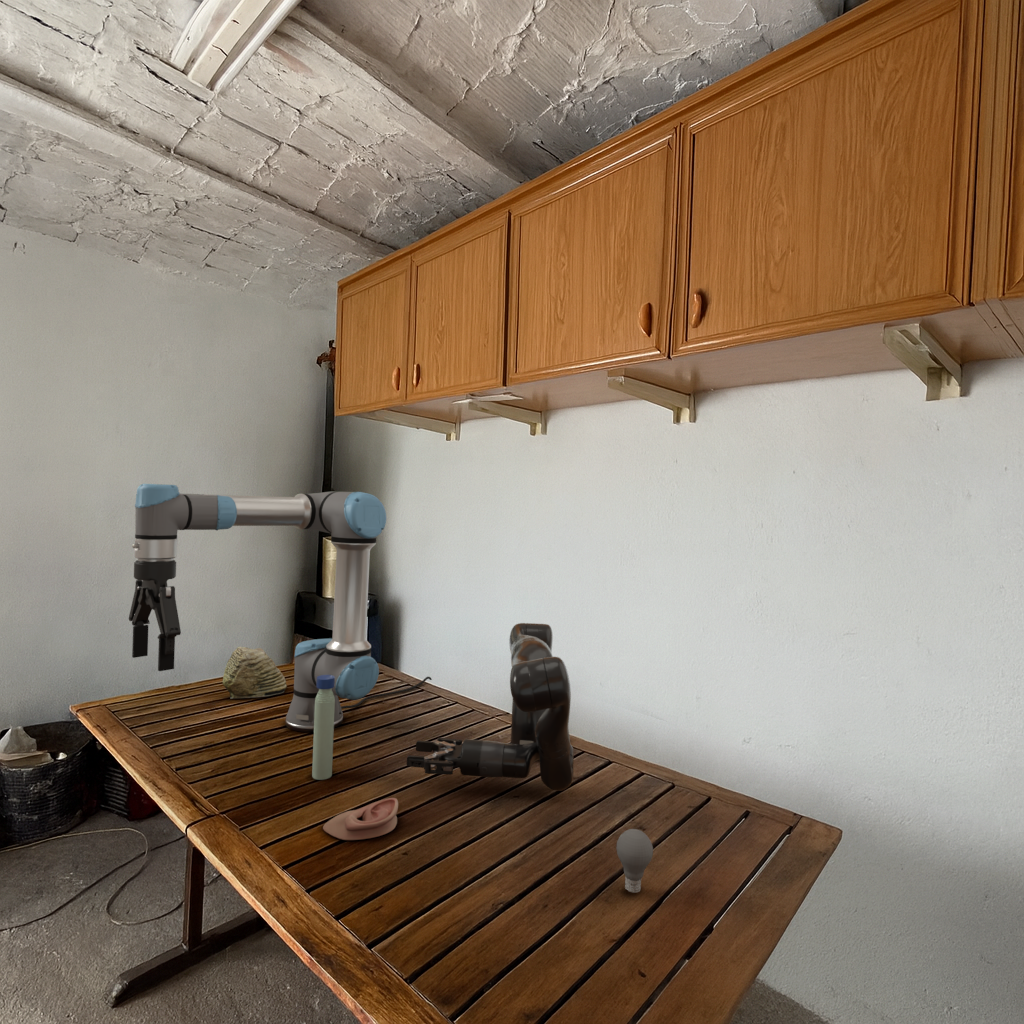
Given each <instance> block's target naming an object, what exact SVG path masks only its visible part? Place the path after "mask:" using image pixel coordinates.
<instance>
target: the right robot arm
mask: <svg viewBox="0 0 1024 1024" xmlns="http://www.w3.org/2000/svg"><path fill="white" fill-rule="evenodd" d="M510 630H511V631H510V633H509V639H508V642H509V643H508V645H509V652H510V664H511V669H510V673H509V674H510V675H509V687H510V694H511V697H512V704H511V725H510V726H511V727H510V728H511V729H510V743H507V742H500V741H495V740H485V739H484V740H482V739H468V738H465V739H464V740H463V739H459V738H449V737H437V739H434V740H433V741H428V740H417V741H416V743H415V751H416V752H423V753H424V752H425V753H433V754H432V755H427V756H424V755H410V754H408V755H407V757H406V766H407V767H408V768H409V767H410V768H422V769H423V770H424V773H425V775H426V774H427V775H430V774H431V775H445V776H446V775H447V776H451V775H453V774H454V769H457V768H459V769H460V770H459V771H460V774H461V775H462V776H469V777H482V778H511V779H526V778H528V777H529V775H530V772H531V768H532V766H533V763H535V762H537V761H539V774H540V779H541V782H542V783H543V785H545V787H546V788H547V789H550V790H552V791H554V792H555V791H556V792H559V791H564V790H566V789H568V788H569V787H570V786H571V784H572V783H573V781H574V758H575V757H574V756H575V754H574V753H575V751H574V747H573V745H572V744H571V736H570V729H569V721H570V714H571V713H570V712H571V703H572V702H571V701H572V689H571V682H570V677H569V672H568V668H567V666H566V664H565V662H564V660H563V659H562V658H561V657H559V656H553V653H552V650H553V639H554V638H553V637H554V636H553V634H554V633H553V630H552V627H551V626H550V624H547V623H535V622H532V623H531V622H518V623H516V624H514V625H513V626H512V628H511V629H510Z"/></svg>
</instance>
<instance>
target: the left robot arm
mask: <svg viewBox="0 0 1024 1024" xmlns="http://www.w3.org/2000/svg"><path fill="white" fill-rule="evenodd" d="M179 490H180V489H179V487H178V485H176V484H159V483H142V484H140V485H138V487H137V488H136V495H135V504H134V508H135V510H134V511H135V517H134V519H135V524H134V525H135V532H134V543H132V544H131V547H132V549H134V558H135V559H137V560H135V561H133V578H134V579H135V584H134V585H135V588H134V594H133V598H132V603H131V606H130V611H129V615H128V621H129V622H131V625H132V648H131V649H132V650H131V651H132V653H131V658H134V659H137V658H141V657H142V658H143V657H148V652H149V624H151V623H150V620H149V618H150V615H151V612H152V610H153V611H154V614H155V618H156V621H157V625H158V629H159V632H160V633H159V634H158V636H157V639H158V652H157V653H158V655H157V658H158V659H157V671H158V672H163V671H170V670H174V669H175V650H176V649H175V648H176V637H177V636H180V635H181V634H182V633H181V631H182V630H181V624H180V619H179V613H178V606H177V600H176V587H175V585H170V586H168V580H173V579H175V578H176V577H177V561H176V560H175V559H176V558H177V557H178V531H185V530H186V531H188V530H189V531H204V530H205V531H220V530H229V529H231V528H233V527H252V526H253V527H255V526H256V527H259V526H260V527H272V526H273V527H275V526H276V527H277V526H278V527H284V526H285V527H290V526H291V527H292V526H293V527H294V528H295V529H297V530H310V531H317V532H322V533H327V534H330V535H331V537H330V543H331V544H332V546H334V547H335V549H336V557H335V576H334V577H335V578H334V579H335V580H334V597H333V598H334V600H333V618H332V619H333V620H332V637H331V638H317V639H308V640H304V641H300V642H299V643H297V645H296V646H295V650H294V655H293V657H294V672H293V673H294V674H293V695H292V696H293V697H292V699H291V702H290V704H289V708H288V711H287V713H286V715H285V726H286V728H287V729H289V730H291V731H294V732H295V731H296V732H301V733H314V713H315V698H316V696H317V693H318V691H319V689H318V688H317V687H316V684H317V677H318V676H321V675H333V676H335V686H334V687H333V688H332V691H333V695H334V697H335V708H334V729H335V728H337V727H339V726H340V725H342V723H343V722H344V714H343V710H344V709H354V708H356V707H358V706H360V705H362V704H363V702H366V701H368V700H370V699H371V700H372V699H374V698H379V697H380V698H381V697H386V696H390V695H394V694H395V695H396V694H401V693H405V692H408V691H411V690H414V689H416V688H418V687H420V686H421V685H423V684H424V683H426V681H427V680H429V681H432V680H433V679H432V677H430V676H425V678H424V679H423V680H422V681H420V682H418V683H416V684H414V685H413V686H411V687H408V688H404V689H399V690H394V691H390V692H384V693H379V694H378V693H377V694H373V695H369V696H367V695H368V694H370V692H371V690H373V689H374V688H375V686H376V684H377V682H378V679H379V676H380V675H379V674H380V668H379V664H378V662H377V661H376V659H375V658H374V657H372V644H371V643H370V642H369V641H368V640H367V619H368V600H369V599H368V598H369V597H368V596H369V580H370V579H369V578H370V577H369V576H370V560H371V559H370V558H371V557H370V556H371V550H372V548H373V547H375V546H376V545H377V537H378V536H379V535H381V533H383V532H382V531H383V530H384V529H385V528H386V524H387V512H386V511H387V510H386V509H385V507H384V504H383V503H382V501H381V500H380V499H379V498H378V497H377V496H376V495H374V494H371V493H367V492H363V491H337V490H336V491H335V490H333V491H324V492H314V493H312V492H311V493H297V494H295V495H294V496H276V495H275V496H271V495H270V496H269V495H241V494H206V493H205V494H204V493H202V494H200V493H180V491H179ZM366 696H367V697H366ZM339 698H341V699H347V700H351V701H357V700H360V699H361V700H360V701H359V702H357V703H355V704H350V705H341V702H340V699H339Z"/></svg>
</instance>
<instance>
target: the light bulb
mask: <svg viewBox="0 0 1024 1024" xmlns="http://www.w3.org/2000/svg"><path fill="white" fill-rule="evenodd" d="M615 849H616V854H617V857H618V859H619V861H620V863H621V865H622V867H623V873H624V874H623V875H624V876H625V878H624V888H625V890H627V891H628V892H630V893H634V894H635V893H639V892H640V891H641V889H642V887H641V886H642V879H643V877H644V875H645V871H646V868H647V867H648V866H649V864H650V863H651V861H652V859H653V855H654V847H653V843H652V841H651V838H649V836H648V835H647V834H646V833H645V832H643V831H642V830H641V829H636V828H629V829H627V830H625V831H623V832H622V833H621V834H620V835H619V837H618V839H617V841H616V847H615Z"/></svg>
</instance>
